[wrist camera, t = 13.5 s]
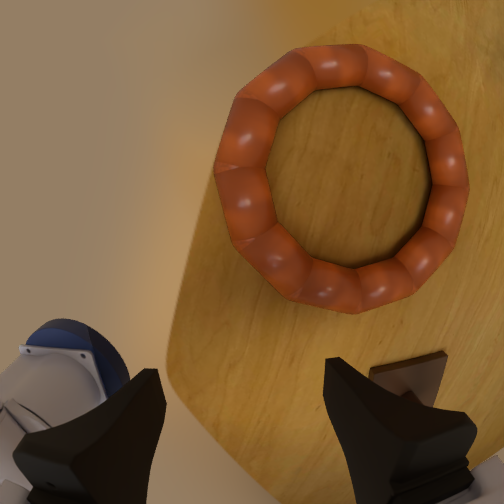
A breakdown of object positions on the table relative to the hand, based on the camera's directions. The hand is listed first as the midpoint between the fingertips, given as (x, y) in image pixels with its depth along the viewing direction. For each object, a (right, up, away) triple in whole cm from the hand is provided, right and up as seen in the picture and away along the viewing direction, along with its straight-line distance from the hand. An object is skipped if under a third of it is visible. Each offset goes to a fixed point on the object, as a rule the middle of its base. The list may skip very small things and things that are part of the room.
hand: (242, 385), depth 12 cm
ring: (+7, +10, +6) cm, 14 cm away
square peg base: (+14, -8, +12) cm, 20 cm away
